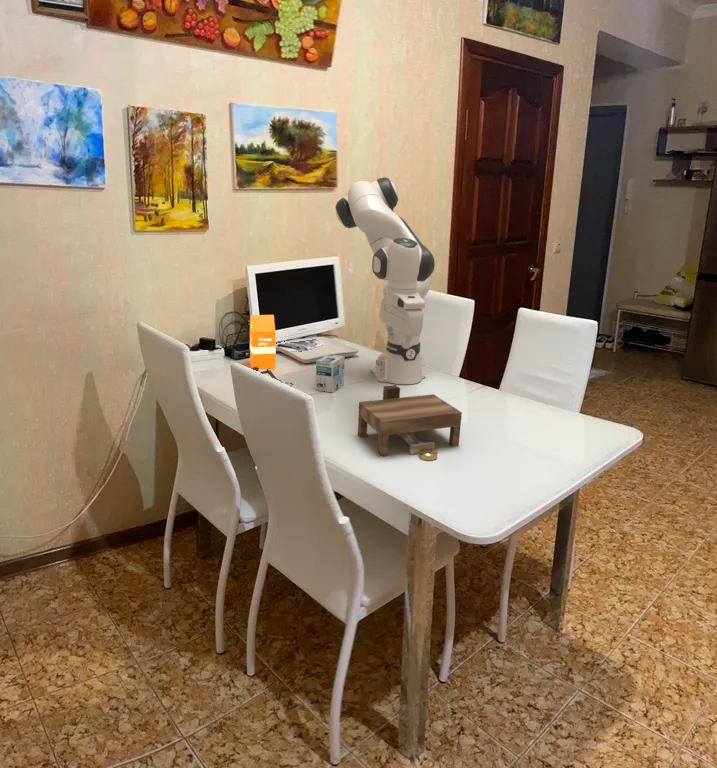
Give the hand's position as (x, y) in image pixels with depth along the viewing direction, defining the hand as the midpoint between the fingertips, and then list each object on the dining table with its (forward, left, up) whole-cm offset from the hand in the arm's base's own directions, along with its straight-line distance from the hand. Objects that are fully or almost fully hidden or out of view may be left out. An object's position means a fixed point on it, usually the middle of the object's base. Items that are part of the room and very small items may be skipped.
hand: (398, 343), depth 187 cm
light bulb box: (-37, -7, -25) cm, 45 cm away
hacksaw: (-54, -23, -25) cm, 64 cm away
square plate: (-81, +2, -25) cm, 85 cm away
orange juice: (-69, -23, -25) cm, 77 cm away
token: (+26, -2, -25) cm, 36 cm away
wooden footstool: (+14, -2, -25) cm, 28 cm away
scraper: (+11, -2, -25) cm, 27 cm away
